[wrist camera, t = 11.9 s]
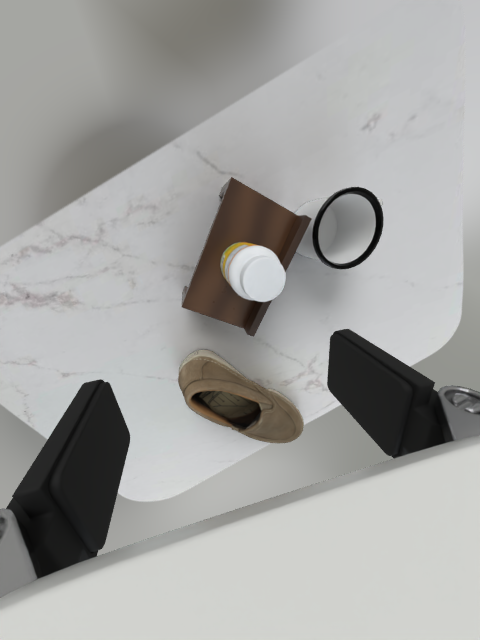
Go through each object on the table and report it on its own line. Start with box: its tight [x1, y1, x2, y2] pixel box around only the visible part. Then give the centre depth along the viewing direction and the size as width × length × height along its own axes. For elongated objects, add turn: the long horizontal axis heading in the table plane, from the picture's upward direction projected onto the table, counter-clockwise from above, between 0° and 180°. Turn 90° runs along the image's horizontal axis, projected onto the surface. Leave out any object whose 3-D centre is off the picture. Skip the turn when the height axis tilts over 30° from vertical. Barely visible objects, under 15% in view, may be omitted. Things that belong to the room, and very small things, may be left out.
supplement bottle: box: [220, 242, 286, 302], centre depth 25 cm, size 5×5×10 cm
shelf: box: [182, 177, 312, 336], centre depth 31 cm, size 10×16×9 cm, turn 155°
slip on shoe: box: [178, 350, 304, 443], centre depth 42 cm, size 30×11×9 cm, turn 43°
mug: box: [295, 187, 383, 269], centre depth 32 cm, size 12×10×9 cm
